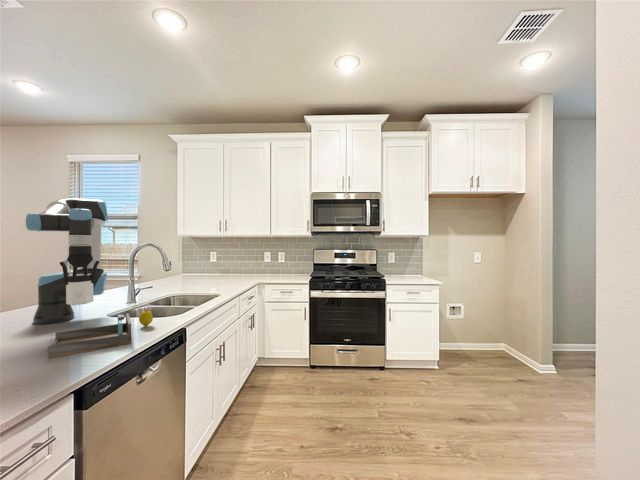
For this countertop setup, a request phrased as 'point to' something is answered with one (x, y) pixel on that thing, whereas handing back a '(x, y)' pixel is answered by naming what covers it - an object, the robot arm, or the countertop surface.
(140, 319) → the fruit
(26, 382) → the countertop surface
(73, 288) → the jar
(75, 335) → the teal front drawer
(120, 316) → the panel
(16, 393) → the countertop surface
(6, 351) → the countertop surface
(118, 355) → the countertop surface
